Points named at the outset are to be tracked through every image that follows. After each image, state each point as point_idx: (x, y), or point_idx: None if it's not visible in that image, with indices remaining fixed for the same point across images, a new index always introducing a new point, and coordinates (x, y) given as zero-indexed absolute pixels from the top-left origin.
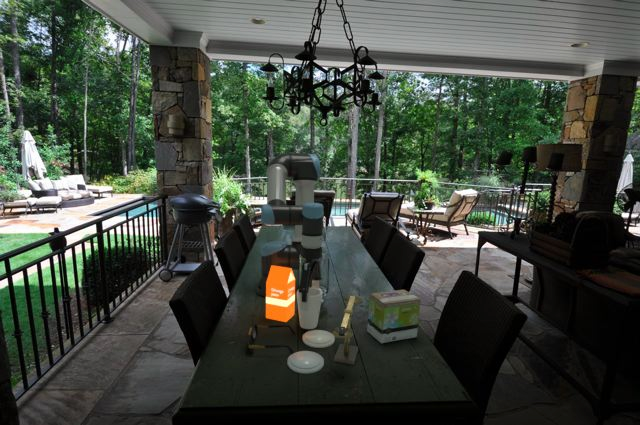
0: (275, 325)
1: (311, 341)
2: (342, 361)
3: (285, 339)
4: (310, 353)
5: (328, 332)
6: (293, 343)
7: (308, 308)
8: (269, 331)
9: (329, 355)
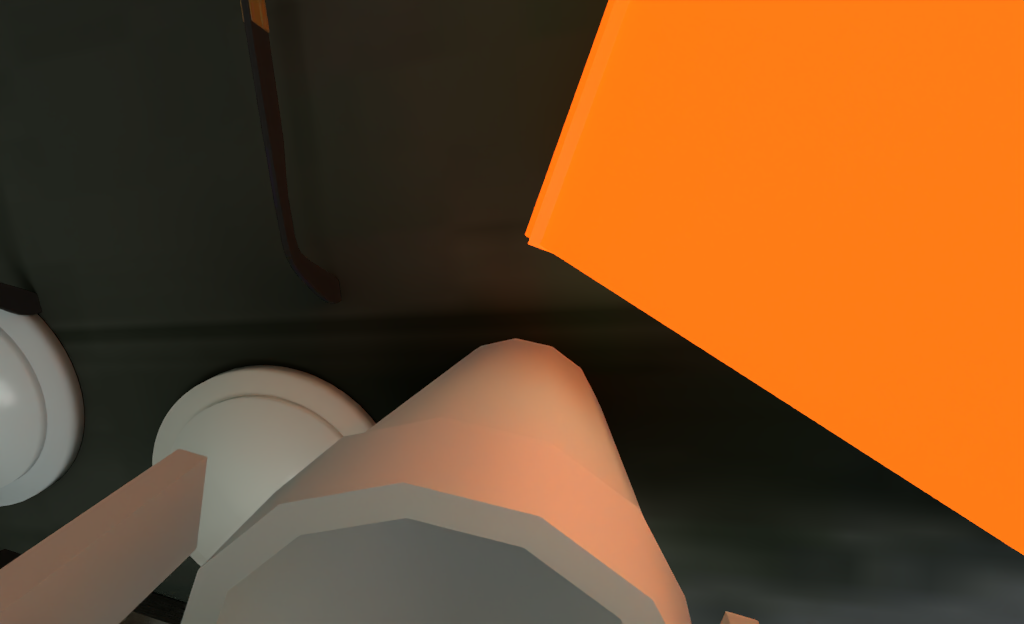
0: (258, 106)
1: (176, 443)
2: None
3: (236, 224)
4: (18, 431)
5: None
6: (189, 295)
7: (168, 564)
8: (353, 46)
9: None
